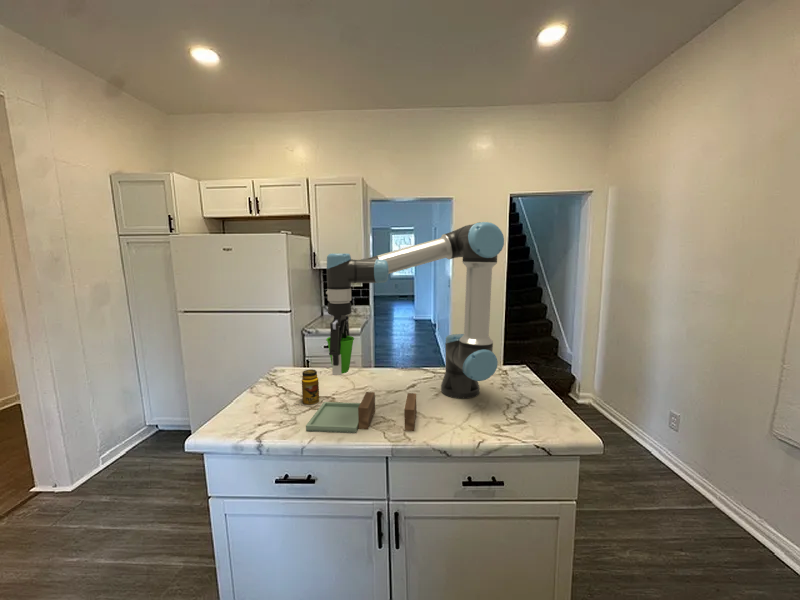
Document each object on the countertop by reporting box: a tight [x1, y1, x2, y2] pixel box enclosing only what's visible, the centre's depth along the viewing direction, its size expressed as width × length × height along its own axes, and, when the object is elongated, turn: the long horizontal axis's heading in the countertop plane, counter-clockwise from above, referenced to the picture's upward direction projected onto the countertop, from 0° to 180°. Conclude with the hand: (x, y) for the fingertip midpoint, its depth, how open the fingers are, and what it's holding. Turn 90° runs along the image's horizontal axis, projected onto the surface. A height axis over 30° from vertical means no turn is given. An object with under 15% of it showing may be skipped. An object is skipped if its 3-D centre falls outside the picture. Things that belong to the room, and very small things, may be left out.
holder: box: [358, 391, 418, 432], centre depth 117 cm, size 18×13×7 cm
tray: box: [305, 401, 361, 434], centre depth 119 cm, size 16×18×2 cm
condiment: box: [294, 368, 324, 408], centre depth 132 cm, size 7×8×12 cm
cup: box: [325, 335, 355, 375], centre depth 116 cm, size 9×9×11 cm
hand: (340, 369), depth 116 cm, fingers closed on cup, 9 cm apart
